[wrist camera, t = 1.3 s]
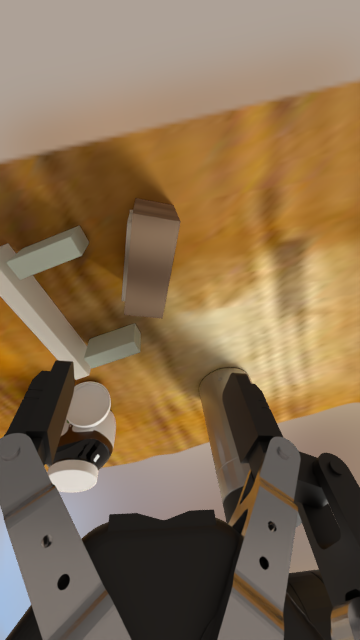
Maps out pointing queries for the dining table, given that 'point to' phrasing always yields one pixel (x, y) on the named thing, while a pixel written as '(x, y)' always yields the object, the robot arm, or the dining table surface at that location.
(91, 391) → the spread jar
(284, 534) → the robot arm
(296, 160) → the dining table surface
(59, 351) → the ledge
